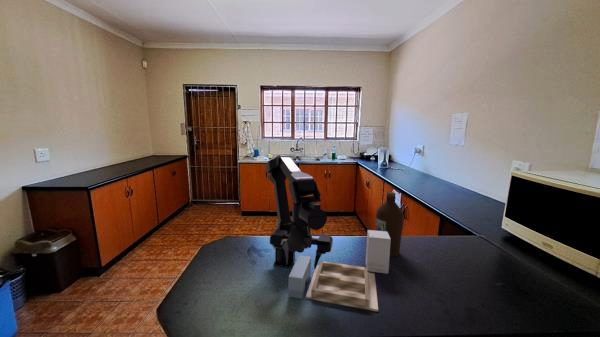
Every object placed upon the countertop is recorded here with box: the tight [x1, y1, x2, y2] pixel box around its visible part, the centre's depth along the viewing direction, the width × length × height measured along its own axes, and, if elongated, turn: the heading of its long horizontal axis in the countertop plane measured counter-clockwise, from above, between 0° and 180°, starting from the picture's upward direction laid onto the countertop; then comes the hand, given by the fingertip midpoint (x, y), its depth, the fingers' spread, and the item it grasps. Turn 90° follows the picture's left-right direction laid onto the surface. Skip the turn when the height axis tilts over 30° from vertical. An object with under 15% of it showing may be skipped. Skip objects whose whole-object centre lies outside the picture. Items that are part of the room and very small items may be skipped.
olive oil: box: [375, 191, 405, 258], centre depth 98 cm, size 11×11×25 cm
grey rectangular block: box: [287, 255, 312, 300], centre depth 75 cm, size 4×13×6 cm, turn 166°
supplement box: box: [365, 229, 391, 275], centre depth 86 cm, size 7×7×13 cm
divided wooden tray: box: [305, 260, 379, 312], centre depth 76 cm, size 20×18×3 cm
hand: (300, 266), depth 75 cm, fingers open, 9 cm apart
